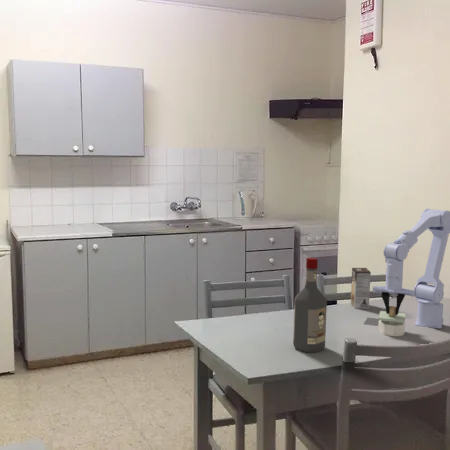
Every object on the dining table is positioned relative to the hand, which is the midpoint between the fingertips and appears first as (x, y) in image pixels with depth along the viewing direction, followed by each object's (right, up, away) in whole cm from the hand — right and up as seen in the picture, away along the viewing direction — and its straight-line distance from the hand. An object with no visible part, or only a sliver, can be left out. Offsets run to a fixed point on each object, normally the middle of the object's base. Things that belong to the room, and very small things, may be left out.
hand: (392, 313), depth 206 cm
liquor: (-33, -9, -17) cm, 38 cm away
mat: (-1, -6, +13) cm, 14 cm away
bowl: (0, -7, +1) cm, 7 cm away
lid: (0, -2, 0) cm, 2 cm away
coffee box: (-3, -3, +38) cm, 38 cm away
